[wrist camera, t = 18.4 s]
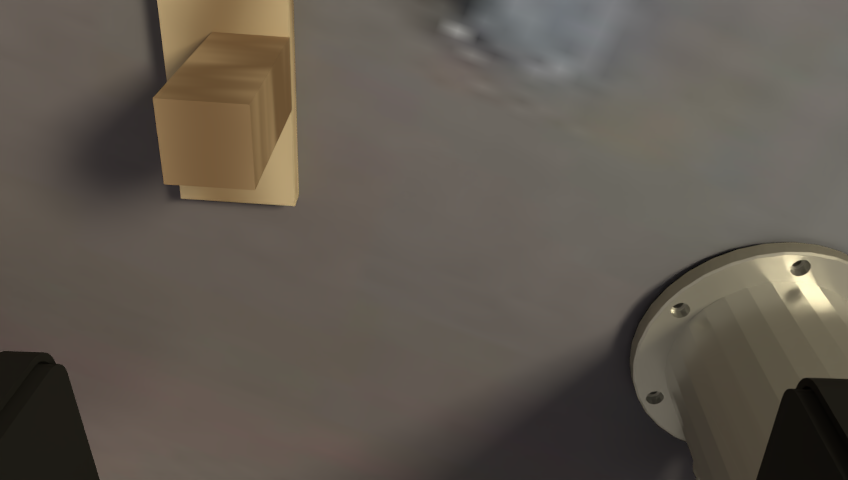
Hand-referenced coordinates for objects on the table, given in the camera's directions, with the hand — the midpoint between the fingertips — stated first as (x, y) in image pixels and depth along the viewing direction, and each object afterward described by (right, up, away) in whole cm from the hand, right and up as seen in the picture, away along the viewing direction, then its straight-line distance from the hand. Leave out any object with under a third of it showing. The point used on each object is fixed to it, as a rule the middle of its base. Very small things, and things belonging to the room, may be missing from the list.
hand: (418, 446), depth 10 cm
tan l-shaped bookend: (-7, +10, +21) cm, 24 cm away
